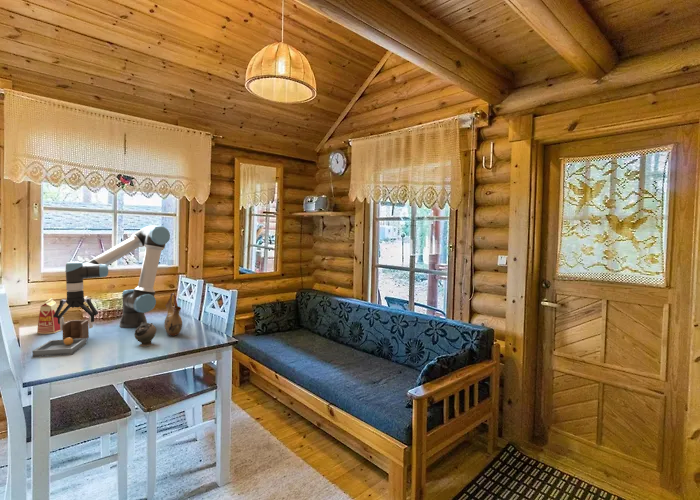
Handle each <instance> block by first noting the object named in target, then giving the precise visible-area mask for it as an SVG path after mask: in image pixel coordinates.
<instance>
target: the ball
mask: <svg viewBox="0 0 700 500" xmlns="http://www.w3.org/2000/svg"><path fill="white" fill-rule="evenodd" d="M72 343H73V339H72V338H71V337H68V338H66V339H64V344H65V345H71V344H72Z"/></svg>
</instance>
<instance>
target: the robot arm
mask: <svg viewBox="0 0 700 500" xmlns="http://www.w3.org/2000/svg"><path fill="white" fill-rule="evenodd" d="M170 239H171V232H170V231H169V230H168V228H167V227H166V226H163V225H158V224H157V225H147V226H145V227H142V228H141V229H140V230H137V231H136V232H134V233H133V234H131V237H129V238H127V239H125V240H124V241H122V242H120V243H119V244H117V245H115V246H113V247H111V248H110V249H108V250H106V251H105V252H104V251H103V253H101V254H99V255H97V256H96V257H94V258H93V259H90V260H89V261H86V262H82V261H68V262H66V264H65V282H66V284H65V285H66V286H65V287H66V299H64V298H63V299H60V300H59V304H58V305H57V310H56V312H55V314H54V316H53V317H56V318H58V324H60V330H62V331H63V329H62V324H64V323H65V320H64V317H63V316H64V315H65V314H66V313H67V312H68V311H69V310H70V309H71V308H72V309H73V308H81V309H83V311H84V312H85V313H87V314H88V315H89V316H88V327H89V329H93V326H94V324H93V323H94V322H95V316H97V315H98V314H99V312H98V309H96V307H95V305H94V304H93V302H92V299H91V298H90V297H88V298H85V297H84V296H85V294H84V280H85V279H96V278H100V279H101V278H106V277H107V276H108V275H109V267H108V266H110V265H111V264H113V263H115V262H116V261H118V260H120V259H121V258H123V257H125V256H127V255H128V254H130V253H132V252H133V251H135V250H137V249H138V248H143V247H144V248H145V251H144V257H143V260H142V265H141V266H142V267H141V270H140V275H139V280H138V284H137V286H136V287H134V289H133V288H132V289H125V290H123V291H122V295H121V297H122V314H121V315H122V316H121V318H120V320H119V327H120V328H123V329H124V328H127V329H129V328H138V327H139V326H140V325H141V323H142V322H144V323H148V320H147V317H146V315H145V314H146V313H149V312H151V311H152V310H153V309H155V306H156V305H157V300H156V297H155V294H156V290H155V289H154V286H155V281H156V277H157V272H158V267H159V264H160V263H159V262H160V259H161V253H162V251H163V250H165V249H166V244H167V243H168V242H169V241H170ZM85 303H86V304H87V305H86V304H85ZM65 304H67V306H65V308H64V309H63V307H64V305H65ZM87 306H88V307H87ZM62 309H63V310H62Z"/></svg>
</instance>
